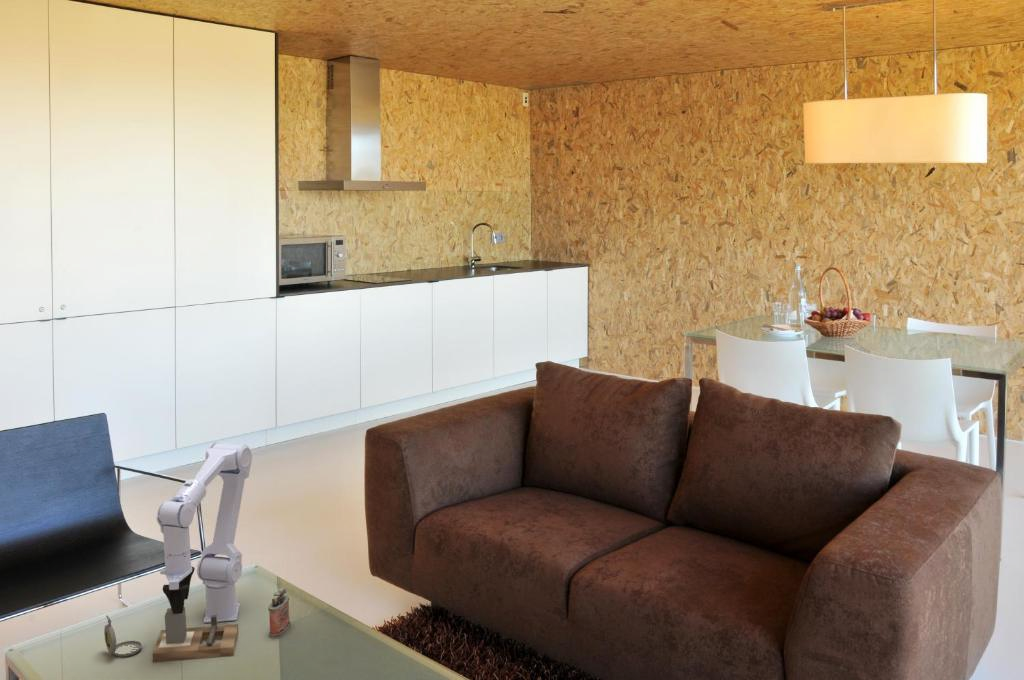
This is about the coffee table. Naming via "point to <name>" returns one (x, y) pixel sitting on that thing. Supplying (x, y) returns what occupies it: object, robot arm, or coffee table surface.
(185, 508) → the robot arm
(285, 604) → the lighter
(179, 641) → the gray rectangular block
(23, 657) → the coffee table surface
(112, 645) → the pocket watch
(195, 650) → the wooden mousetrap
